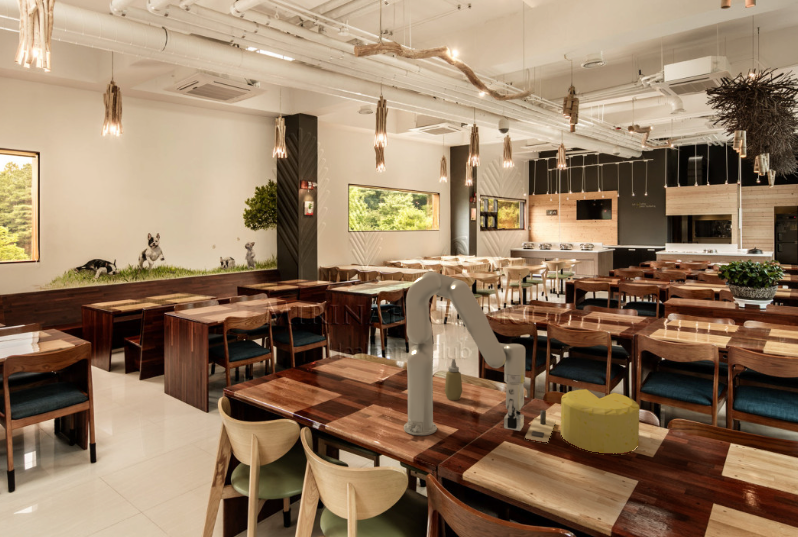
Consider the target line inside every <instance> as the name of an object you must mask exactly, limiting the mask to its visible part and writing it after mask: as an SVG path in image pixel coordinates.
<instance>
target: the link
mask: <svg viewBox="0 0 798 537" xmlns="http://www.w3.org/2000/svg"><path fill="white" fill-rule="evenodd" d="M516 418H517V425H516V429H512V428H508V427H507V423H508V412H507V413H506V415H504V418H503V429H506V430H512V431H513V430H514V431H519V432H520V431H522V428H523V427H524V425H525V423H524V422H525V421H524V420H525V414H522V413H520V414H516Z"/></svg>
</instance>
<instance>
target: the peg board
mask: <svg viewBox="0 0 798 537" xmlns="http://www.w3.org/2000/svg"><path fill="white" fill-rule="evenodd" d="M555 423H556V420H550V419H547V412H546V410H544V409H541V410H540V417H539V418H538V417H534V419H533V421H532V423H531V424H530V426H529V428H528V430H527V432H526V434H525V436H524V439H525V438H526V439H531V440H536V441H542V442H547V443H548V444H549V442H550V440H549V438H550V439H551V437H552V434H553V432H554V429H553V428H555V427H554V425H555V426H556V424H555ZM552 431H553V432H552ZM551 433H552V434H551ZM550 436H551V437H550ZM548 441H549V442H548ZM547 443H546V444H547Z"/></svg>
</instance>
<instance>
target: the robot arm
mask: <svg viewBox="0 0 798 537" xmlns="http://www.w3.org/2000/svg"><path fill="white" fill-rule="evenodd" d="M435 295H436V296H439V297H442V298H445V299H448V300H450V302H451V304H452V306H453V307H454V309H455V311H456V312H457V314H458V316H459V318H460V320H461V321H462V323H463V324H464V327H465V329H466V331H467V332H468V333H469V335H470V336H471V338H472V340H473V341H474V343H475V345H476V346H477V349H478V350H479V352H480V354H481V355H482V357H483V359H484V361H485V363H486V364H487V365H488V366H489V367H491V368H493V369H499V368H501V367H503V366H504V368H503V370H504V371H503V372H504V375H503V377H504V380H503V381H504V382H505V383H506V388H505V389H506V390H505V393H506V394H505V408H506V410H507V413H508V423H507V427H508V428H512V429H516V425H517V418H516V414H521V409H522V408H523V407H524V404H525V390H524V388H525V387H524V384H525V383H526V347H525V346H524V345H523V344H520V343H501V342H499V340H498V338H497V337H496V334H495V333H494V330H493V329H492V327H491V325H490V323H489V319H488V318H487V315H486V314H485V312H484V310H483V309H482V307H481V305H480V304H479V302H478V300H477V298H476V297H475V295H474V293H473V291H472V290H471V288H470V286H469V284H468V283H467V282H465V281H464V280H461V279H458V278H454V277H451V276H448V275H445V274H442V273H439V272H436V271H427V272H425V273H423V274H422V275H421V276H420V277H418V278H417V279H416V280H415V281H413V282H412V284H411V285H410V286H409V288H408V291H407V293H406V298H405V303H406V304H405V305H406V336H407V338H408V349H409V351H408V355H407V360H406V370H407V371H406V372H407V422H406V423H404V425H403V430H404V432H405V433H408V434H409V435H413V436H429V435H432V434H434V433H435V432H437V430H438V425H436V423H434V414H433V413H434V412H433V411H434V400H433V399H434V398H433V397H434V395H433V394H434V382H433V381H434V380H433V378H434V376H433V375H434V371H433V369H434V342H433V327H432V326H433V324H432V322H431V320H430V307H429V304H430V299H431V298H432V297H433V296H435ZM512 429H511V430H512Z"/></svg>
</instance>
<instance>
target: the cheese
mask: <svg viewBox="0 0 798 537" xmlns="http://www.w3.org/2000/svg"><path fill="white" fill-rule="evenodd" d="M560 399H561V400H560V404H561V405H560V436H561V435H562V437H563V439H565V440H566V441H568V442H569V443H571V444H573V445H575V446H577V447H579V448H582V449H585V450H588V451H592V452H599V453H613V454H614V453H616V454H617V453H624V452H629V451H632V450H634V449H635V448H636V447H637V446H638V447H639V439H640V438H639V436H640V404H638V402H636V401H635V400H634V399H633V398H631V397H628V396H626V395H623V394H621V393H619V392H618V393H617V392H612V393H610V394H607V395H604V396H603V397H600V398H599V397H598V396H597V395H595V394H594V393H592V392H591V391H590V390H588V389H587V388H585V389H575V390H571V391H568V392H566V393H564V394H563V395H562V396H561V398H560ZM562 437H561V438H562ZM563 439H562V440H563ZM588 451H587V452H588ZM592 452H591V453H592Z"/></svg>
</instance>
